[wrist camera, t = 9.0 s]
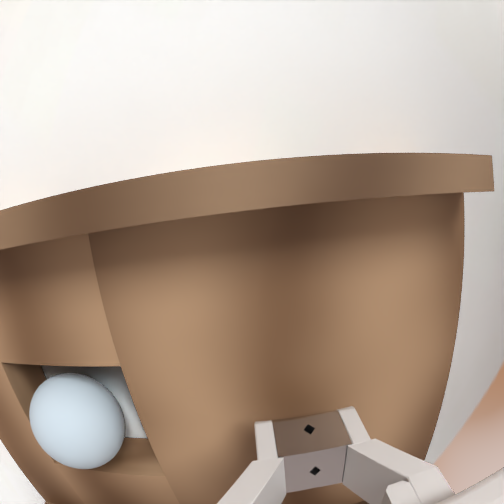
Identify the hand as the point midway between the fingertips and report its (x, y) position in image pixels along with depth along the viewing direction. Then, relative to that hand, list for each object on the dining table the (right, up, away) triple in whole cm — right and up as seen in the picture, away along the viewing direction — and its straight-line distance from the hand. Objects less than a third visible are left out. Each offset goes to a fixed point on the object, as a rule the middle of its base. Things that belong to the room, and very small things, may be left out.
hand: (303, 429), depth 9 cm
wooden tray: (-4, 0, +3) cm, 5 cm away
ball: (-10, -1, +3) cm, 10 cm away
